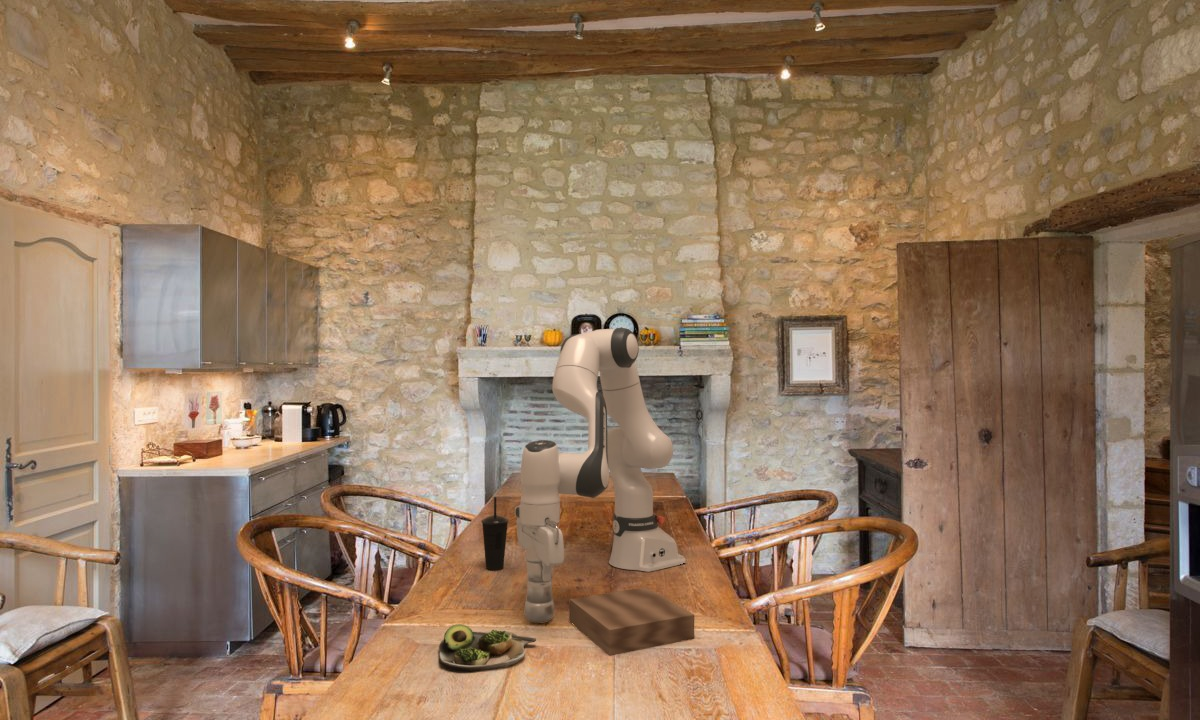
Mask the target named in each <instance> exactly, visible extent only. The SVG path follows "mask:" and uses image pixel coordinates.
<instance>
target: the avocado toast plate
mask: <svg viewBox="0 0 1200 720" xmlns="http://www.w3.org/2000/svg"><path fill="white" fill-rule="evenodd" d="M536 641H537V638H536V637H529V636H521V635H517V633H514V632H510V631H507V630H497V629H496V630H495V629H492V630H491V631H485V632H484V631H482V632H481V631H473V630H472V629H471V628H470V627H469V626H467V625H465V624H460V623H459V624H458V623H457V624H454V625H452V626H450V627H448V629H447V630H446V631H445V633H444V636H443V639H442V640H441V641H440V643H439V645H438V654H439V656H438V661H439V664H440V665H441V666H442V667H443V668H444V669H447V670H449V671H453V672H458V673H462V672H463V673H466V672H470V673H471V672H477V671H485V670H493V669H498V668H505V667H509V666H512V665H514V664H516V663H518V662H519V661H521V660H523V659H524V658H525V656H526V651H525V650H526V649H525V648H524V647H525V646H526V645H528V644H530V643H531V644H533V643H535V642H536ZM502 656H507V657H508V658H509V659H507V660H504V661H502V662H497V663H493V664H487V662H488V661H489V660H490V659H493V658H495V657H502Z"/></svg>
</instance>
